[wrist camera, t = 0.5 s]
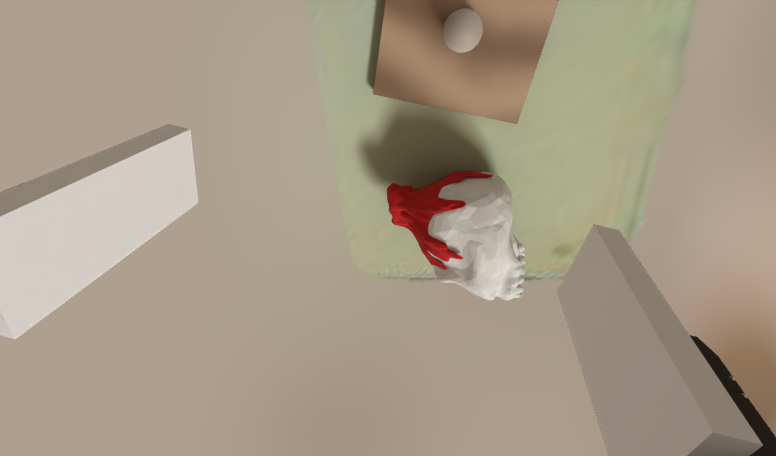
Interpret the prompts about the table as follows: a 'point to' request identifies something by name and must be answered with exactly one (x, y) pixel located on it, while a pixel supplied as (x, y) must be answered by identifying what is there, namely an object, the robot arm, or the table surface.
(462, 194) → the candle
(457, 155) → the table surface
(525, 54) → the post base
